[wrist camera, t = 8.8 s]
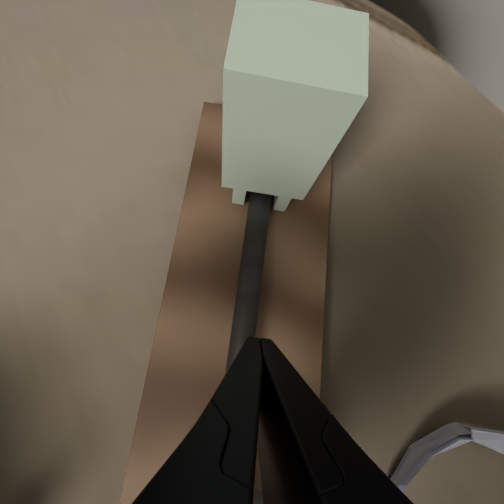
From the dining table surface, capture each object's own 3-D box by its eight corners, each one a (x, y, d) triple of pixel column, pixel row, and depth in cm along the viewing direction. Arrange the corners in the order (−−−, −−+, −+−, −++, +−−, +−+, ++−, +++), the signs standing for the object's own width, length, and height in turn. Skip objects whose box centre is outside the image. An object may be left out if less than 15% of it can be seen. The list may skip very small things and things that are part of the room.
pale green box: (294, 213, 19) (368, 96, 10) (221, 201, 19) (223, 68, 9) (299, 162, 21) (368, 13, 11) (229, 150, 20) (239, -15, 11)
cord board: (304, 576, 15) (363, 747, 9) (110, 563, 14) (28, 738, 8) (328, 133, 23) (369, 59, 17) (205, 110, 22) (199, 25, 16)
